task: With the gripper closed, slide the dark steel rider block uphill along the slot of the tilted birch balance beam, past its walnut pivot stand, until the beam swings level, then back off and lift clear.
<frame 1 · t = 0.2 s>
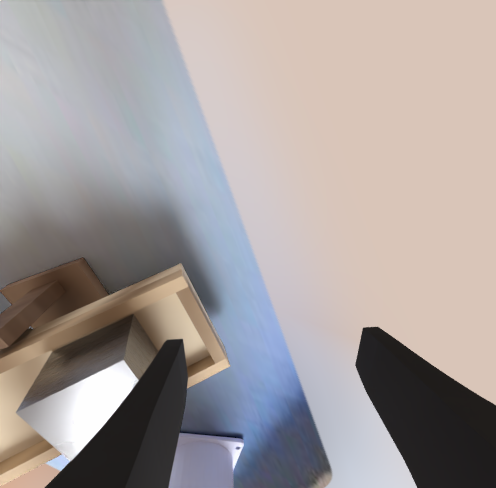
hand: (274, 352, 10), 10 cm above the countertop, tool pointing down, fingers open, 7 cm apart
stand: (92, 331, 21), on the countertop
rider: (115, 360, 17), point 4 cm above the countertop, tilted 13°, touching beam
beam: (56, 387, 16), point 5 cm above the countertop, hinge at -12.8°, touching rider
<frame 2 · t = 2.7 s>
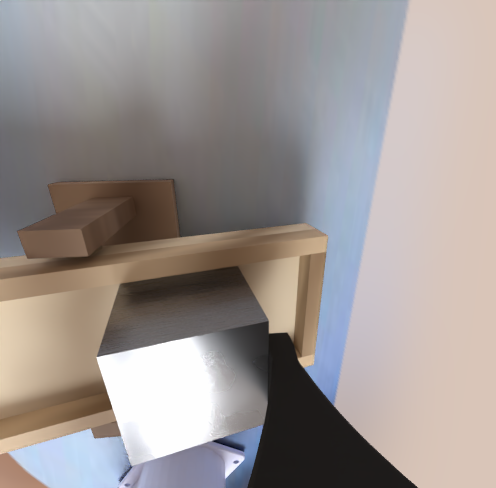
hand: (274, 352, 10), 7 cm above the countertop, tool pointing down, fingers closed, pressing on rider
stand: (136, 278, 16), on the countertop
rider: (188, 321, 12), point 4 cm above the countertop, tilted 12°, touching gripper
beam: (102, 335, 11), point 5 cm above the countertop, hinge at -12.8°
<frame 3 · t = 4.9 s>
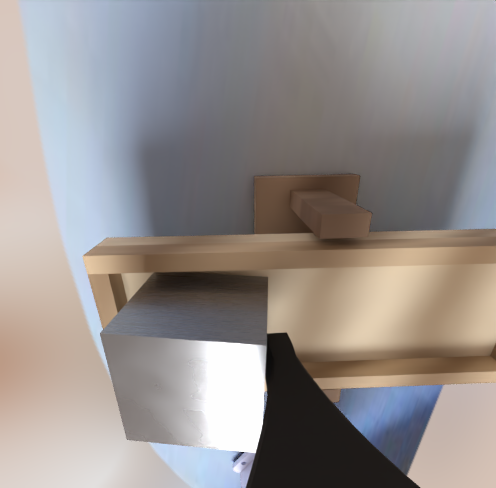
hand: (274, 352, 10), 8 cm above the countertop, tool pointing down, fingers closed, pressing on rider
stand: (298, 265, 17), on the countertop
rider: (212, 320, 12), point 5 cm above the countertop, tilted 9°, touching beam, gripper
beam: (324, 311, 13), point 5 cm above the countertop, hinge at 2.6°, touching rider
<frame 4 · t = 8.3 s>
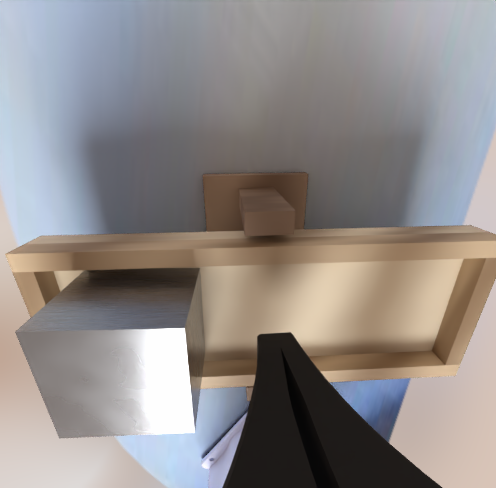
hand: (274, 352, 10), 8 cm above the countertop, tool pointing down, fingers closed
stand: (254, 263, 18), on the countertop
rider: (150, 314, 12), point 5 cm above the countertop, touching beam
beam: (264, 308, 13), point 5 cm above the countertop, hinge at 1.5°, touching rider
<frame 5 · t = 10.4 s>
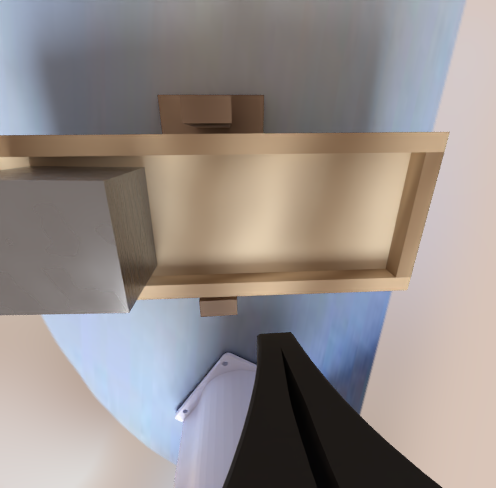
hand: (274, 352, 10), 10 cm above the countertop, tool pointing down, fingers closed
stand: (217, 196, 18), on the countertop
rider: (99, 219, 13), point 5 cm above the countertop, touching beam
beam: (214, 217, 13), point 5 cm above the countertop, hinge at 1.5°, touching rider
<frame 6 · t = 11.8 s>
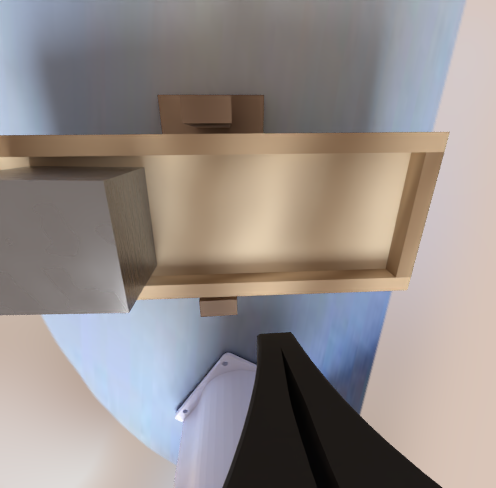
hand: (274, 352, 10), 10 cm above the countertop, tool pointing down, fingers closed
stand: (217, 196, 18), on the countertop
rider: (99, 219, 13), point 5 cm above the countertop, touching beam
beam: (214, 217, 13), point 5 cm above the countertop, hinge at 1.5°, touching rider
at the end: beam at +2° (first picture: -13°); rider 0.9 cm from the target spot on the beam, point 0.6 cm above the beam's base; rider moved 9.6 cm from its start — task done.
